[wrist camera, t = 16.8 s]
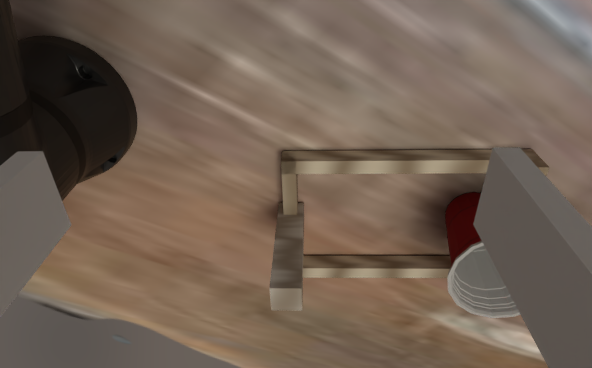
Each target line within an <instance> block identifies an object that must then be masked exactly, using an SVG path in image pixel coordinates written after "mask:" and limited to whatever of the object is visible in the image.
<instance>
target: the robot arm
mask: <svg viewBox="0 0 592 368" xmlns="http://www.w3.org/2000/svg"><path fill="white" fill-rule="evenodd" d="M136 129H137V115H136V109H135V105H134V102H133V99H132V96H131V94H130V92H129V90H128V88H127V86H126V85H125V83H124V81H123V80H122V78H121V77H120V76H119V75H118V73H117V72H116V71H115V70H114V69H113V68H112V67H111V66H110V65H109V64H108V63H107V62H106V61H105V60H104V59H102V58H101V57H100V56H99V55H97V54H96V53H94V52H93V51H91V50H89V49H88V48H86V47H84V46H82V45H80V44H78V43H75V42H73V41H70V40H67V39H63V38H58V37H52V36H35V37H29V38H25V39H22V40H20V41H18V39H17V35H16V30H15V25H14V21H13V16H12V12H11V7H10V2H9V0H0V317H1V316H2V314H3V313H4V312H5V310H6V309H7V308H8V307H9V305H10V304H11V303H12V301H13V300H14V299H15V298H16V296H17V295H18V294H19V292H20V291H21V290H22V288H23V287H24V286H25V285H26V283H27V282H28V281H29V279H30V278H31V277H32V275H33V274H34V273H35V272H36V270H37V269H38V268H39V266H40V265H41V264H42V262H43V261H44V260H45V259H46V257H47V256H48V255H49V253H50V252H51V251H52V250H53V248H54V247H55V246H56V244H57V243H58V242H59V240H60V239H61V238H62V237H63V235H64V234H65V233H66V231H67V230H68V229H69V227H70V226H71V223H70V220H69V218H68V215H67V213H66V210H65V207H64V205H63V202H62V201H63V200H64V198H65V197H66V196H67V195H68V194H69V192H70V191H71V190H72V189H73V188H74V187H75V185H76V184H78V183H80V182H83V181H85V180H87V179H90V178H92V177H94V176H97V175H99V174H101V173H104V172H105V171H107V170H109V169H110V168H112V167H113V166H114V165H116V164H117V163H118V162H119V161H120V160H121V158H122V157H123V156H124V155H125V153H126V152H127V151H128V149H129V148H130V146H131V145H132V143H133V140H134V138H135V134H136ZM473 225H474V227H475V229H476V231H477V233H478V235H479V236H480V238H481V240H482V242H483V244H484V246H485V248H486V250H487V252H488V253H489V255H490V257H491V259H492V261H493V263H494V265H495V267H496V269H497V271H498V272H499V274H500V276H501V278H502V280H503V282H504V284H505V286H506V288H507V289H508V291H509V293H510V295H511V297H512V299H513V301H514V303H515V305H516V307H517V308H518V310H519V312H520V314H521V316H522V318H523V320H524V322H525V324H526V325H527V327H528V329H529V331H530V333H531V335H532V337H533V339H534V341H535V343H536V344H537V346H538V348H539V350H540V352H541V354H542V356H543V358H544V360H545V362H546V363H547V365H548V367H549V368H592V227H591V226H590V225H589V224H588V222H587V221H586V220H585V219H584V218H583V217H582V216H581V215H580V214H579V213H578V211H577V210H576V209H575V208H574V207H573V206H572V205H571V204H570V203H569V201H568V200H567V199H566V198H565V197H564V196H563V195H562V194H561V193H560V191H559V190H558V189H557V188H556V187H555V186H554V185H553V184H552V183H551V182H550V180H549V179H548V178H547V177H546V176H545V175H544V174H543V173H542V172H541V170H540V169H539V168H538V167H537V166H536V165H535V164H534V163H533V162H532V160H531V159H530V158H529V157H528V156H527V155H526V154H525V153H524V152H523V151H522V149H521V148H492V152H491V156H490V160H489V164H488V168H487V172H486V176H485V180H484V184H483V188H482V192H481V196H480V200H479V204H478V208H477V212H476V216H475V220H474V224H473Z"/></svg>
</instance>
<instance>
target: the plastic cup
mask: <svg viewBox="0 0 592 368" xmlns="http://www.w3.org/2000/svg"><path fill="white" fill-rule="evenodd" d="M480 196H481V193H476V192H472V193H466V194H463V195H461V196H459V197H457V198H455V199H454V200H453V201H452V202H451V203H450V204H449V205H448V207H447V210H446V214H445V219H446V227H447V238H448V245H449V251H450V258H451V268H450V270H449V272H448V292H449V294H450V295H451V297H452V298H453V300H454V301H455V303H456V304H457V305H458V306H460V307H461V308H463V309H465V310H466V311H468V312H470V313H471V314H475V315H480V316H484V317H489V318H500V317H514V316H517V315H520V312H519V310H518V308H517V307H516V305H515V303H514V301H513V299H512V297H511V295H510V293H509V291H508V289H507V288H506V286H505V284H504V282H503V280H502V278H501V276H500V274H499V272H498V271H497V269H496V267H495V265H494V263H493V261H492V259H491V257H490V255H489V253H488V252H487V250H486V248H485V246H484V244H483V242H482V240H481V238H480V236H479V235H478V233H477V231H476V229H475V227H474V225H473V224H474V220H475V216H476V212H477V208H478V204H479V200H480Z"/></svg>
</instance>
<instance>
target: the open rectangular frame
mask: <svg viewBox="0 0 592 368" xmlns="http://www.w3.org/2000/svg"><path fill="white" fill-rule="evenodd" d="M522 151H523V152H524V153H525V154H526V155H527V156H528V157H529V158H530V159H531V160H532V162H533V163H534V164H535V165H536V166H537V167H538V168H539V169H540V170H541V172H542V173H543V174H544V175H545V176H547V173H548V170H549V166H548V165H547V164H546V163H545V162H544V161H543V160H542V159H541V158H540V157H539V156H538V155H537V154H536V153H535V152H534V151H533V150H532V149H522ZM491 152H492V149H491V150H358V151H282V158H281V171H282V191H283V203H279V207H278V216H277V225H276V234H275V244H274V253H273V262H272V271H271V281H270V299H271V310H301V311H302V293H303V278H448V272H449V270H450V268H451V258H450V256H303V243H304V203H298V191H297V174H415V173H486V172H487V168H488V164H489V160H490V156H491Z"/></svg>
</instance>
